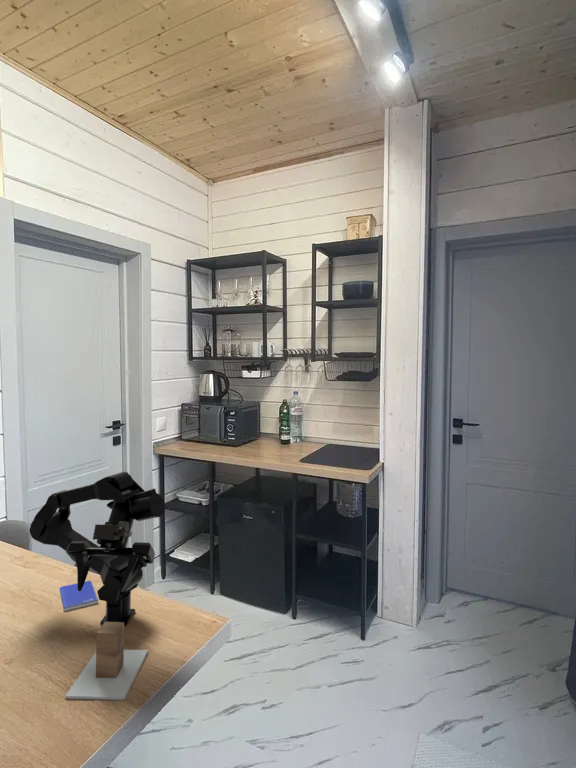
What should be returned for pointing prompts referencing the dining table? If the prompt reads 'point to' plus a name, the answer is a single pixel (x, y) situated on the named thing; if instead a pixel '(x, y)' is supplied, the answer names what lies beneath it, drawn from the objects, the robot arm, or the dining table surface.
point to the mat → (107, 679)
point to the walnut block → (109, 649)
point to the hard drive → (78, 596)
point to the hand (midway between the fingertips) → (100, 591)
